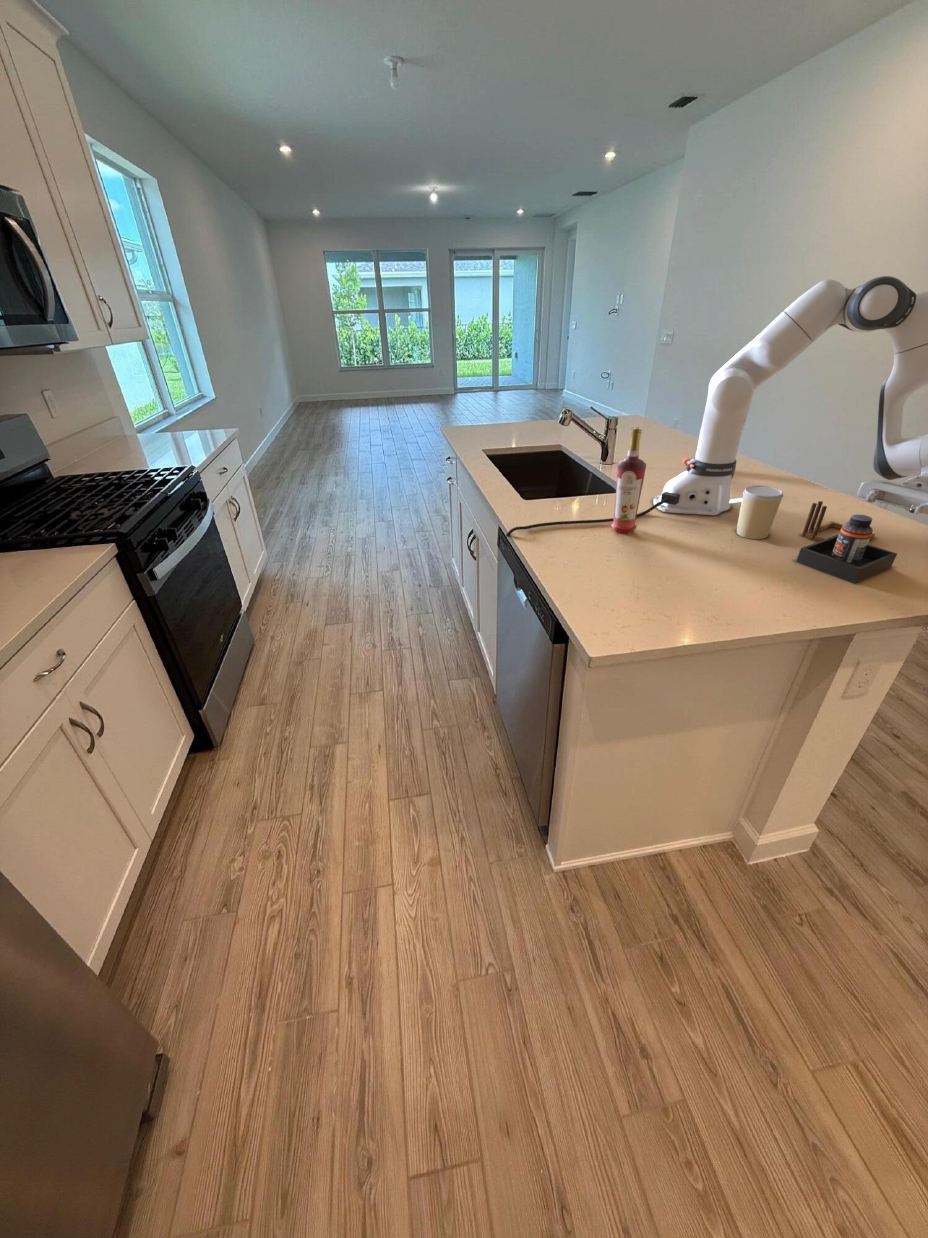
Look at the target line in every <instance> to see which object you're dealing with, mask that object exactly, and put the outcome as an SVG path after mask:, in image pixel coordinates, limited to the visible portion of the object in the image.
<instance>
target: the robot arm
mask: <svg viewBox="0 0 928 1238" xmlns="http://www.w3.org/2000/svg"><path fill="white" fill-rule="evenodd" d="M837 325H839V326H841V327H843V328H845V329H847V330H849V331H852V332H855V333H861V334H862V333H870V332H873V331H874V332H875V331H877V330H884V331H885V332H887V334H888V335H889V337H890V339H891V342H892V351H893V352H892V353H893V365H892V369H891V372H890V374H889V376H888V377H887V378H886V379H884V380H883V382H882V384H881V386H880V392H879V397H878V410H877V411H878V412H877V427H876V428H877V430H876V445H875V449H874V454H873V461H872V465H873V470H874V472H875V473H876V474H877V475H878V476H880V477H881V478H883V479H872V480H866V481H863V482H861V484H860V485H859V487H858V490H857V497H859V498H861V499H864V500H865V502H867V503H871V504H872V503H875V502H877V503H881V504H886V505H890V506H893V507H897V508H901V509H904V510H906V511H908V512H909V513H911V514H914V515H918V514H925V515H928V433H927V434H921V435H917V436H911V437H903V436H902V428H903V427H902V425H903V413H904V405H905V404H906V401H907V400H908V398H909V397H910V396H911V395H912V394H914V393H915V392H918V390H920V389H921V388H923V387H925V386H927V385H928V290H923V291H921V292H918V293H916V292H915V291H913V290H912V289H911V287H909V286H907V285H906V284H905V283H904V282H903V281H902V280H901V279H899V278H897V277H895V276H891V275H882V276H878V277H874V278H872V279H869V280H868V281H866V282H863V283H862V284H861V285H859V286H857V287H854V288H848V287H845V285H844V284H843V283H841V282H839V281H838V280H835V279H823V280H821V281H819V282H818V283H816V284H814V285H813V286H812V287H810V288H809V289H808V290H807V291H805V292H804V293H802V294H801V295H800V296H798V298H797V299H795V300H794V301H793V302H792V303H790V304H789V305H788V306H787V307H786V308H785V309H784V310H783V311H781V313H780V314H779V315H778V316H777V317H775V319H773V321H771V322H770V323H769V324H768V325H767V326H766V327H765V328H764V329H763V330H762V331H761V332H760V333H759V334H758V335H756V336H755V338H753V339H752V340H751V341H749V342H748V343H747V344H746V345H745V346H744V347H743V348H741V349H740V350H739V351H738V352H737V353H736V354H735V355H734V356H733V357H731V358H730V359H729V360H728V361H727V362H726V363H725V364H724V365H723V366H721V367H720V368H719V369H718V370H717V371H716V372H715V373H714V374H713V375H712V377H711V378H710V380H709V382H708V386H707V387H708V388H707V389H708V390H707V398H706V402H705V408H704V412H703V417H702V423H701V426H700V430H699V435H698V441H697V445H696V451H695V456H694V457H693V458H691V459H690V458H689V457H684V458H683V459H682V464H683V465H684V466H686V468H685V470H684V471H683V472H681V473H679V474H678V475H676V476H674V477H673V478H670V479H669V480H668V481H667V482H665V485H664V486H663V489H662V491H661V494H657V495H655V496H654V497H653V500H652V502H653V505H652V506H651V507H649V508H648V509H646V510H644V511H642V512H639V513H637V516H636V518H639V517H642V516H644V515H646V514H648V513H651V512H652V511H653V510H655V509H658V510H659V511H661V512H663V513H670V514H685V515H686V514H687V515H703V516H718V515H719V514H720V513H723V512H726V511H728V510H730V508H731V504H735V503H742V498H743V497H739V498H732V499H731V485H732V480H733V478H734V475H735V472H736V468H737V459H736V458H737V455H738V450H739V446H740V443H741V438H742V435H743V430H744V428H745V424H746V421H747V417H748V414H749V411H750V408H751V403H752V400H753V397H754V392H755V390H756V389H758V387H760V386H761V385H763V384H764V383H765V382H766V381H768V380H769V379H771V378H772V377H773V376H774V375H776V374H777V373H779V372H780V371H782V370H784V369H785V368H786V367H787V366H788V365H789V364H791V363H792V361H794V360H795V359H796V358H797V357H798V356H799V355H800V354H802V353H803V352H804V351H805V350H807V348H808V347H810V346H811V345H812V344H813V343H814V342H815V341H817V340H818V339H819V338H820V337H821V336H822V335H823V334H824V333H826V332H827V331H828V330H829V329H831V328H833V327H834V326H837ZM910 476H912V477H910ZM906 477H910V478H908V479H906V480H905V481H904V482H902V483H901V482H897V481H892V480H898V479H902V478H906ZM609 522H614V517H611V518H603V519H602V518H601V519H585V520H584V519H583V520H562V521H549V522H542V523H535V524H534V523H533V524H529V525H525V526H523V525H522V526H515V527H513V528H510V529H509V530H508V531H507V533H506V534H505V536H506V537H509V536H510V535H511V534H512V533H514V532H515V531H520V530H530V529H534V528H541V527H549V526H561V525H578V524H579V525H580V524H597V523H598V524H599V523H600V524H601V523H609Z"/></svg>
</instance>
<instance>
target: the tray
mask: <svg viewBox="0 0 928 1238" xmlns="http://www.w3.org/2000/svg"><path fill="white" fill-rule="evenodd" d="M838 536H839V534H835V535H832V536H830V537H826V538H827V539H824V540H821V541H816V542H814V543H810V544H808V545H805V546H802V547H800V549H799V552H798V555H797V557H796V561H795V562H796V563H799V564H801V565H804V566H807V567H808V568H809V567H810V568H812V569H815V570H818V571H820V572H823V573H826V574H829V575H832V576H833V577H834V576H835V577H837V578H839V579H841V580H845V581H848V582H849V583H853V584H857V583H859V582H861V581H865V580H866V579H868V578H871V577H873V576H875V575H877V574H880V573H882V572H884V571H886V570H889V569H891V568H892V566H893V564H894V562H895V560H896V557H897V556H898V553H897V552H895V551H890V550H887V549H884V548H881V547H877V546H874V545H872V544H868V545H867V547H866V549H865V552H864V554H863V557H862V559H861V561H860V563H859V565H857V566H855V565H852V564H849V563H846V562H843V561H840V560H837V559H835V558H832V557H831V554H832V551H833V549H834V546H835V544H836V541H837V538H838Z"/></svg>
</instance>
